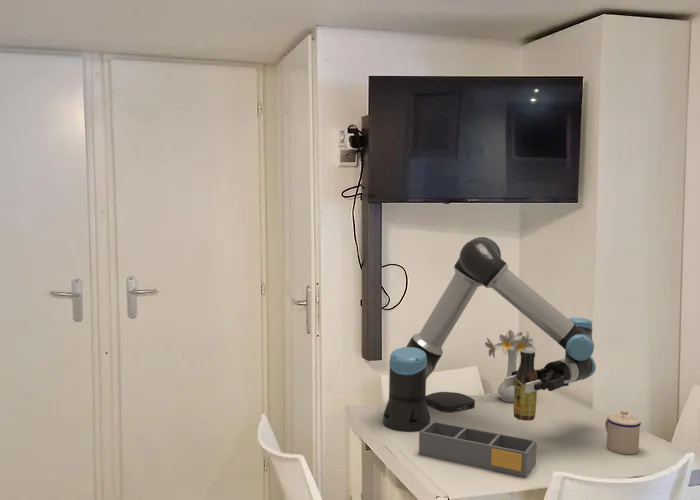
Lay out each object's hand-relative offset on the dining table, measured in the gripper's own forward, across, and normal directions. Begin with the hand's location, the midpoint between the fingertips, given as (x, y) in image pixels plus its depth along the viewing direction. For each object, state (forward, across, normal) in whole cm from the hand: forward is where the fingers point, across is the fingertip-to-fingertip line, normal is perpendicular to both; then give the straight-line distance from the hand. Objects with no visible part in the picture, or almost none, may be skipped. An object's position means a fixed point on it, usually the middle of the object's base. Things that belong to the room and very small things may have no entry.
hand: (515, 385), depth 189 cm
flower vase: (-42, +30, -20) cm, 56 cm away
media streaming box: (-21, +41, -21) cm, 50 cm away
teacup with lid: (-29, -17, -20) cm, 39 cm away
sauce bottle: (-5, 0, -11) cm, 12 cm away
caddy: (+11, +4, -20) cm, 23 cm away
